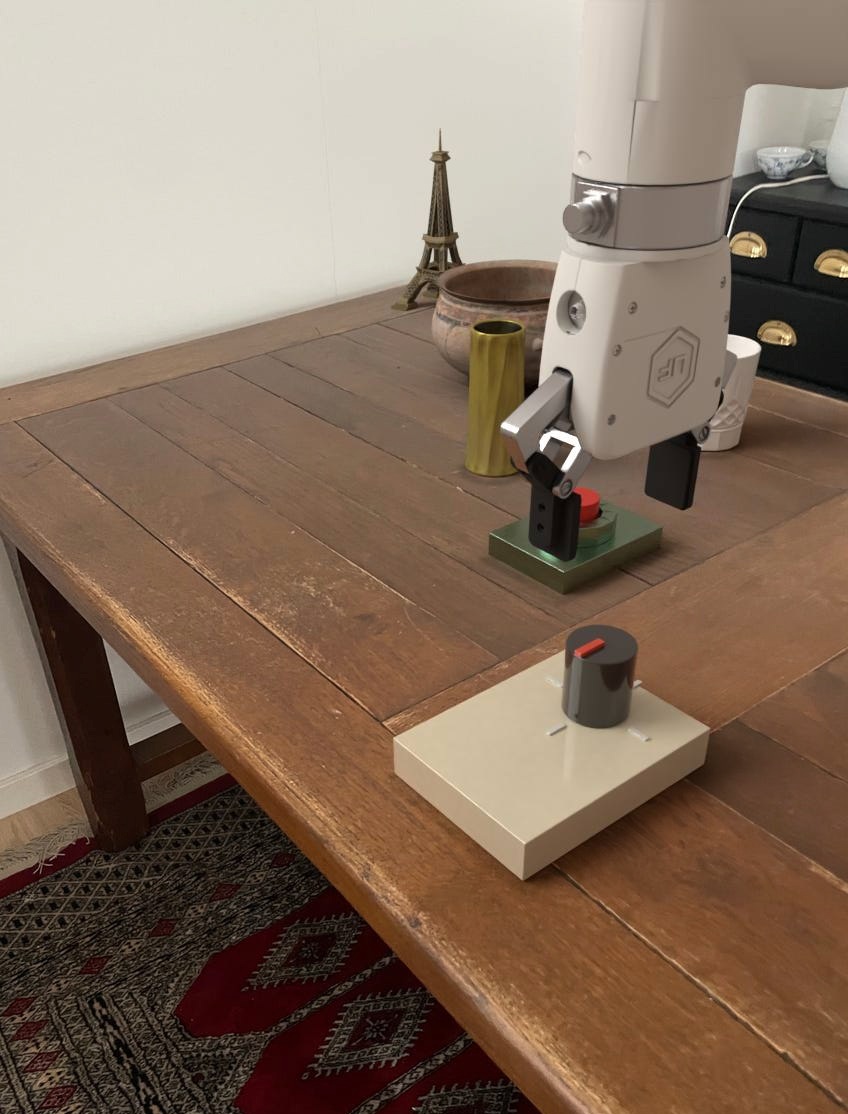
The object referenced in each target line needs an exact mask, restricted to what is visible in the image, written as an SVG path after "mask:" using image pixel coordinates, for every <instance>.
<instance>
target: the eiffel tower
mask: <svg viewBox="0 0 848 1114" xmlns="http://www.w3.org/2000/svg"><path fill="white" fill-rule="evenodd" d="M438 131H439V132H438V150H435V151H431V154H432V155H431V157H430V158H429V161H430V162H433V163H434V165H433V166H434V167H433V174H432V175H433V177H432V185H431V186H432V188H431V198H430V205H429V206H430V207H429V216H428V223H427V230H426V231H427V233H423V234H422V238H421V240H422V241H423V242H424V247H423V251H422V256H421V259H420V262H419V265H418V266H415V270H416V273H414V276H413V277H412V279H411V280H410V281H409V282H408V284H407V286H406V287H405V289H404V290H403V292H402V293H401V294H400V295H399V298H398V301H397V302H395V304H392V305H391V306H390V308H391V309H394V310H399V311H404V312H405V311H409V310H411V309H414V308H416V307H418V301H416V299H417V298H418V296H419V294H420V293H421V292H422V290H423V288H424V287H425V286H426V290H425V291H423V292H422V296H423V297H424V296H425V297H430V298H435V299H438V298H439V295H440V293H441V290H442V288H440V286H439V284H438V282H437V281H438V278H439V276H440V275H441V274H443V273H444V272H446V271H448V270H450V269H452V268H455V267H459V266H462V265H467V263H466V262H464V263H463V261H462V259H461V257H460V254H459V250H458V245H457V239H460V236H459V233H458V231H454V224H453V215H452V207H451V198H450V190H449V181H448V172H447V171H448V170H447V162H448V161H449V160H451V159H452V158H451V156H450V155H449V153H450V151H447V150H443V149H442V148H443V147H442V129H439V130H438ZM432 254H433V261H431V258H432ZM448 256H449V257H450V261H448V260H449V258H448Z"/></svg>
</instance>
